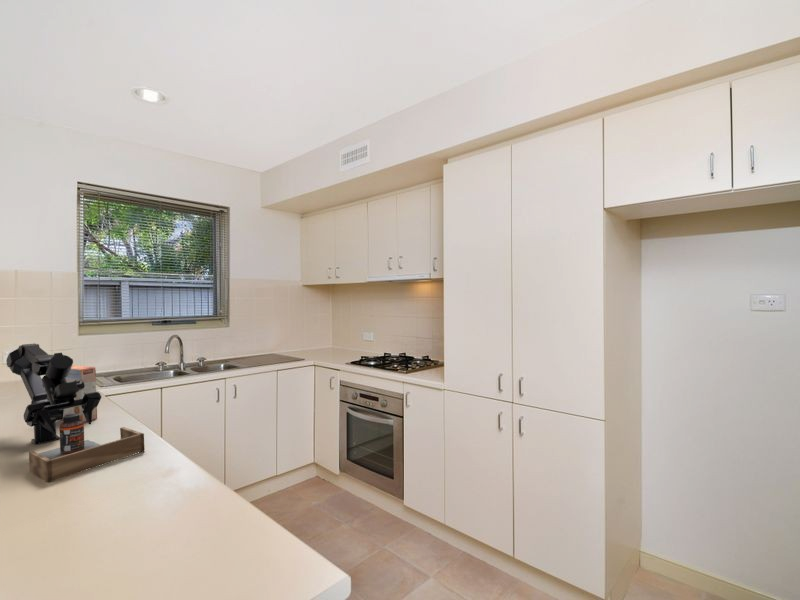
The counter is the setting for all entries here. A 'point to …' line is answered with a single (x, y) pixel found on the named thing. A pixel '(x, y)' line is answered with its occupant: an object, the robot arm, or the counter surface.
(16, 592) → the counter surface
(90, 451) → the open wooden enclosure
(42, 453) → the mat
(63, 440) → the supplement bottle
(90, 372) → the cracker box
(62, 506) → the counter surface
